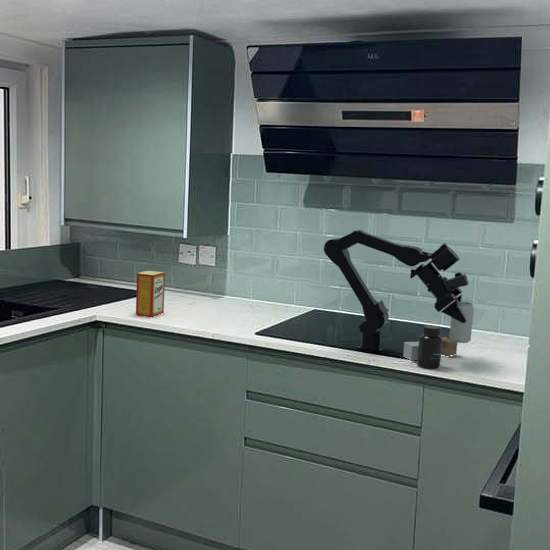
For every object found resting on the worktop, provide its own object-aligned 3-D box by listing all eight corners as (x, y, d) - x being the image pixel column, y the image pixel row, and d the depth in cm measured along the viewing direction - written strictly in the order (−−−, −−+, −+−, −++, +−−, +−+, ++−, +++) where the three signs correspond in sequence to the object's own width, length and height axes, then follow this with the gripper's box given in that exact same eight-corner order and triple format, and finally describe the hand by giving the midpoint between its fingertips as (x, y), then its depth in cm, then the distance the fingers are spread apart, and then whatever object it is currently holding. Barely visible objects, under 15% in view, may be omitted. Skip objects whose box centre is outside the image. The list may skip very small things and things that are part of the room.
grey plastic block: (403, 357, 224) (404, 342, 223) (417, 357, 225) (418, 341, 224) (410, 362, 219) (412, 346, 218) (425, 361, 220) (426, 345, 220)
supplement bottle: (437, 370, 210) (441, 330, 208) (414, 367, 213) (417, 327, 211) (441, 365, 217) (445, 326, 215) (418, 362, 219) (422, 323, 217)
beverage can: (469, 344, 216) (473, 305, 215) (447, 341, 218) (451, 302, 217) (471, 340, 222) (475, 302, 221) (449, 337, 224) (453, 299, 223)
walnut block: (433, 354, 230) (435, 339, 230) (443, 352, 234) (444, 337, 233) (447, 357, 227) (448, 342, 226) (456, 355, 230) (457, 340, 229)
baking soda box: (148, 311, 273) (149, 269, 271) (163, 313, 271) (165, 271, 269) (135, 315, 265) (136, 272, 262) (151, 317, 263) (153, 274, 260)
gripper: (449, 267, 210) (484, 309, 207) (458, 261, 227) (490, 300, 225) (420, 290, 214) (454, 332, 211) (430, 283, 231) (462, 321, 229)
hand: (466, 320), depth 219 cm, fingers closed on beverage can, 6 cm apart
